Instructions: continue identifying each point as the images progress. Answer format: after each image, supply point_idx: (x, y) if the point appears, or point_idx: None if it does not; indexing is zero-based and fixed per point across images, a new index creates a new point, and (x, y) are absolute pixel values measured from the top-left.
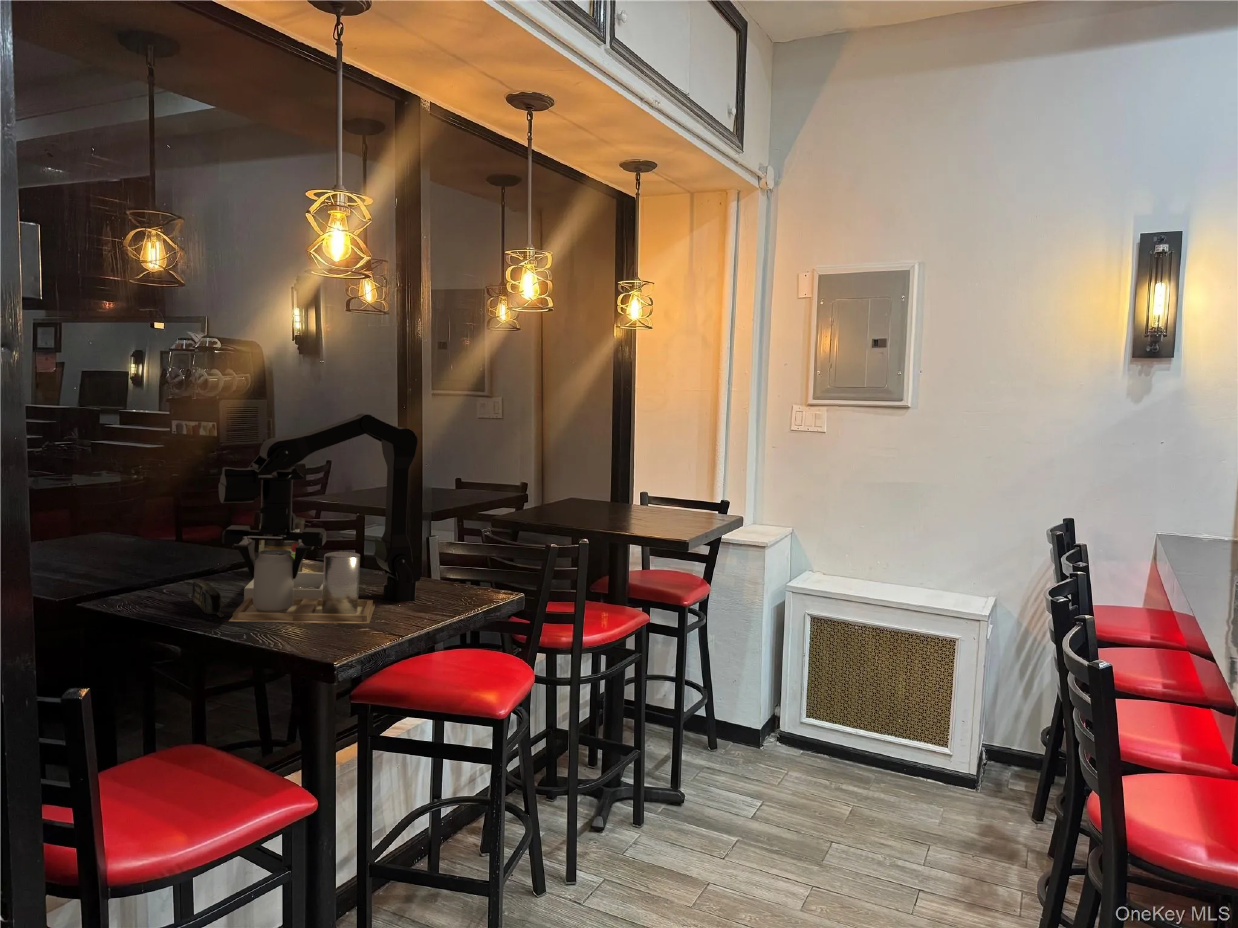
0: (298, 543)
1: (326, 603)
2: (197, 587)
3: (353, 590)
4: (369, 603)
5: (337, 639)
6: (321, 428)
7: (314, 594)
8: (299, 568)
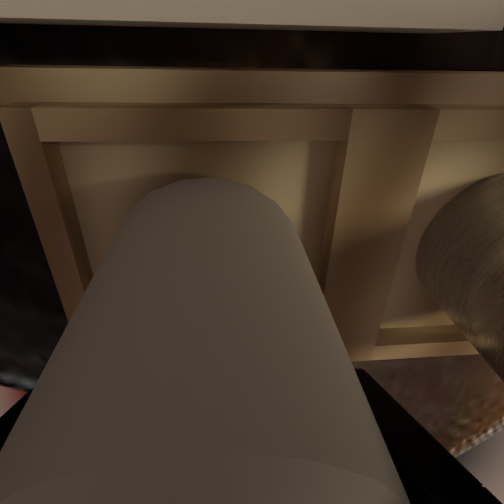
0: None
1: (457, 327)
2: None
3: None
4: None
5: (424, 392)
6: None
7: (427, 30)
8: (418, 426)
